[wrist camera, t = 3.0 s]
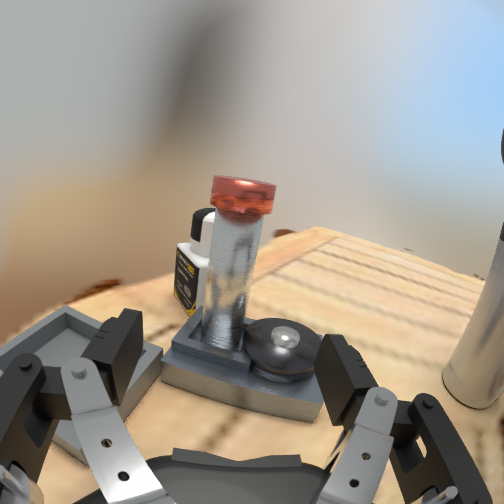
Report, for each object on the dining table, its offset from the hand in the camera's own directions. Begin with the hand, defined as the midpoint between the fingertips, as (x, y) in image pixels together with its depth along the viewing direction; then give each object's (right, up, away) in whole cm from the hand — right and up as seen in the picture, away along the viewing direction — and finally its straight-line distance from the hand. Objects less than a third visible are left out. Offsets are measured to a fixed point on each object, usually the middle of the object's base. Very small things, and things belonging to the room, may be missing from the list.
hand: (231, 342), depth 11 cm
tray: (-14, -7, +6) cm, 17 cm away
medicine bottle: (-5, -3, +24) cm, 24 cm away
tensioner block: (+1, -7, +13) cm, 15 cm away
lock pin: (-2, -4, +13) cm, 13 cm away
